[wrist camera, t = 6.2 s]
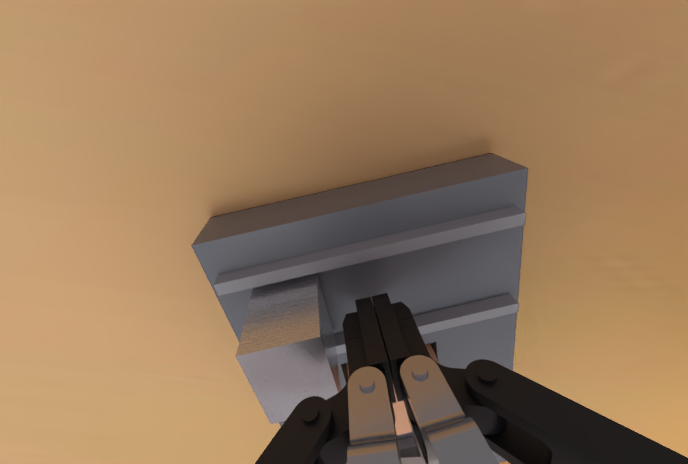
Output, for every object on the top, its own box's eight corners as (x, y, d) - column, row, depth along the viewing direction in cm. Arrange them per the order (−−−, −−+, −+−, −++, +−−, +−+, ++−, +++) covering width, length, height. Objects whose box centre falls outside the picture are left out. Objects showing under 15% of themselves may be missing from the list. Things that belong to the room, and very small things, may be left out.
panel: (491, 153, 16) (540, 173, 13) (485, 423, 27) (511, 472, 24) (210, 217, 16) (185, 254, 13) (318, 463, 27) (320, 518, 24)
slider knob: (316, 272, 14) (320, 336, 11) (334, 334, 16) (342, 407, 13) (253, 287, 14) (235, 356, 11) (278, 347, 16) (270, 424, 13)
